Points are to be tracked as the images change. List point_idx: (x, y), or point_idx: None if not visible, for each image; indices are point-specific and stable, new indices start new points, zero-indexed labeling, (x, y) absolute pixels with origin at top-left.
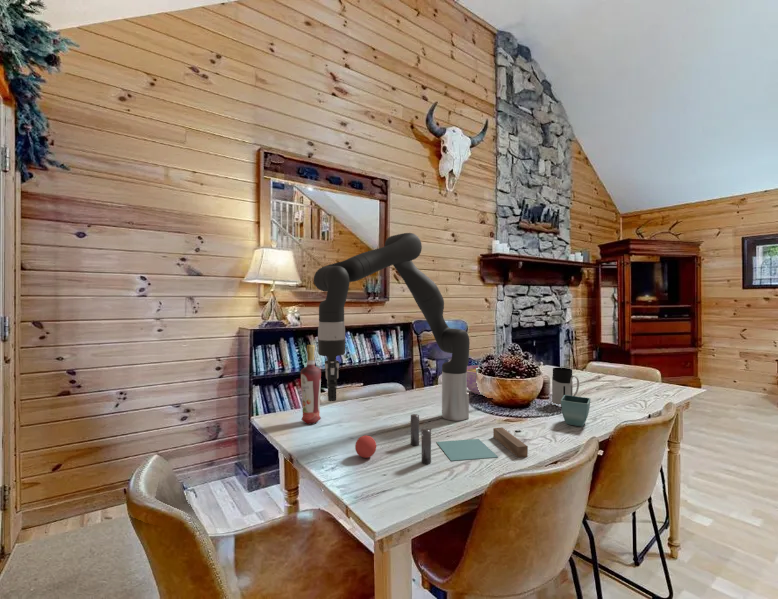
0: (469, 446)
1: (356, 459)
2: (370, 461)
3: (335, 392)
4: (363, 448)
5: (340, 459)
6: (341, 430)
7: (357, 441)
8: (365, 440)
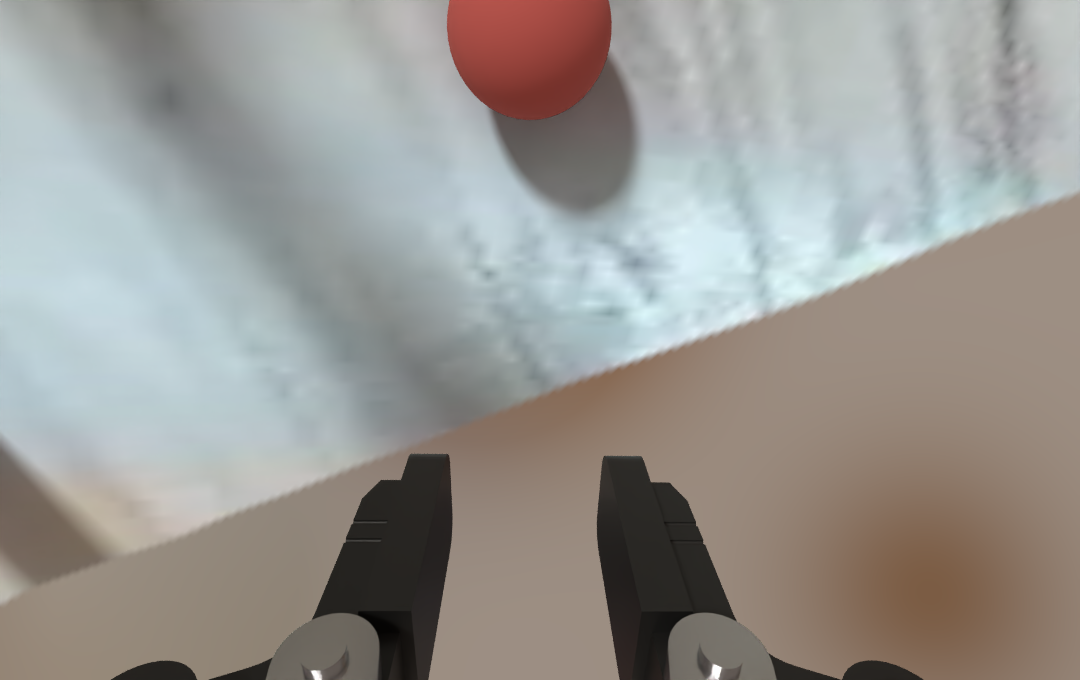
0: None
1: None
2: None
3: (666, 546)
4: (604, 63)
5: (532, 213)
6: (7, 165)
7: (538, 103)
8: (582, 35)
